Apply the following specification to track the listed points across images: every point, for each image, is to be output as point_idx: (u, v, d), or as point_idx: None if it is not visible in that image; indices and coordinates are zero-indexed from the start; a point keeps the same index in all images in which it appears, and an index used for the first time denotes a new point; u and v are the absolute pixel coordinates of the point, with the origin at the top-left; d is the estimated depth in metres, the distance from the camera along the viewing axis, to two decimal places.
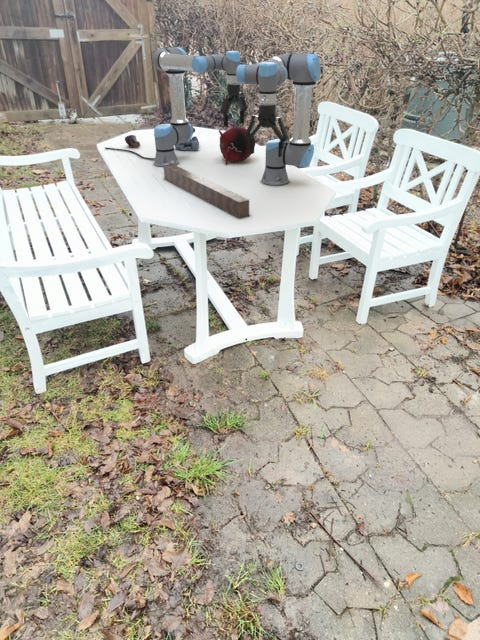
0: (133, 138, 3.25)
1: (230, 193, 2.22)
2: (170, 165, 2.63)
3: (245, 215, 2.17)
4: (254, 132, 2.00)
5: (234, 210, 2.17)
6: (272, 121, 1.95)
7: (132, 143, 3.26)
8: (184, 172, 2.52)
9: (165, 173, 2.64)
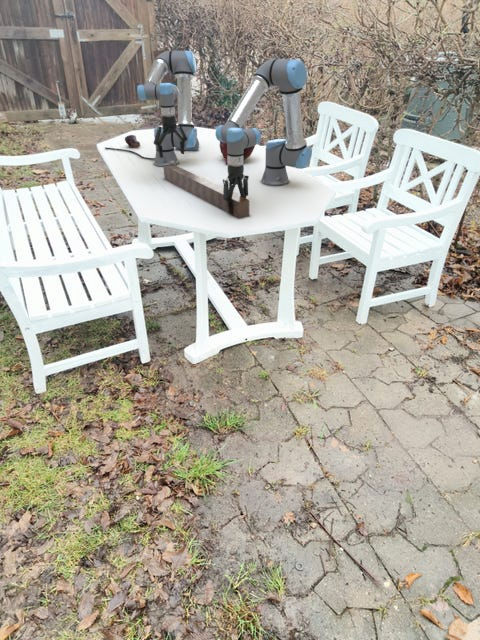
0: (133, 138, 3.25)
1: None
2: (170, 165, 2.63)
3: (245, 215, 2.17)
4: (232, 193, 2.13)
5: (234, 210, 2.17)
6: (242, 177, 2.13)
7: (132, 143, 3.26)
8: (184, 172, 2.52)
9: (165, 173, 2.64)
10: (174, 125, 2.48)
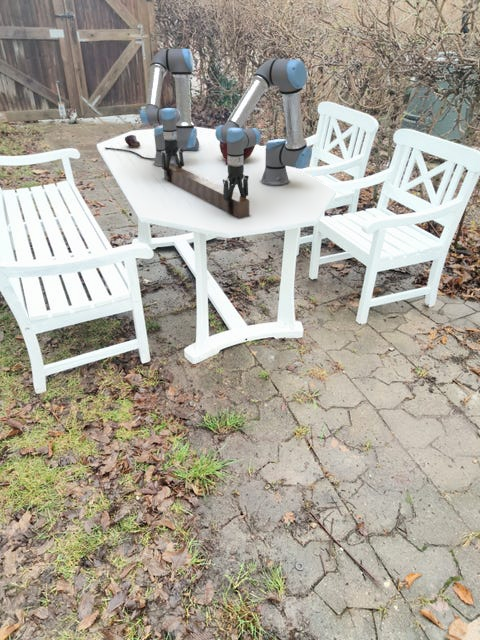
0: (133, 138, 3.25)
1: None
2: (170, 165, 2.63)
3: (245, 215, 2.17)
4: (232, 193, 2.13)
5: (234, 210, 2.17)
6: (242, 177, 2.13)
7: (132, 143, 3.26)
8: (184, 172, 2.52)
9: (165, 173, 2.64)
10: (176, 148, 2.55)
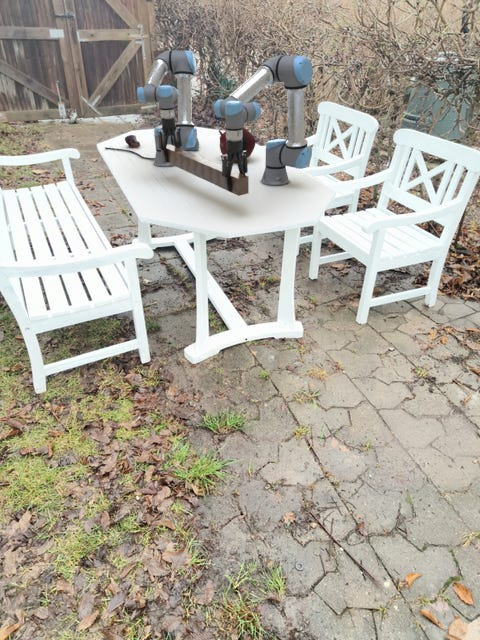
0: (133, 138, 3.25)
1: None
2: (168, 145, 2.56)
3: (244, 192, 2.11)
4: (231, 170, 2.07)
5: (232, 188, 2.11)
6: (241, 153, 2.07)
7: (132, 143, 3.26)
8: (182, 151, 2.46)
9: (162, 154, 2.58)
10: (173, 127, 2.49)
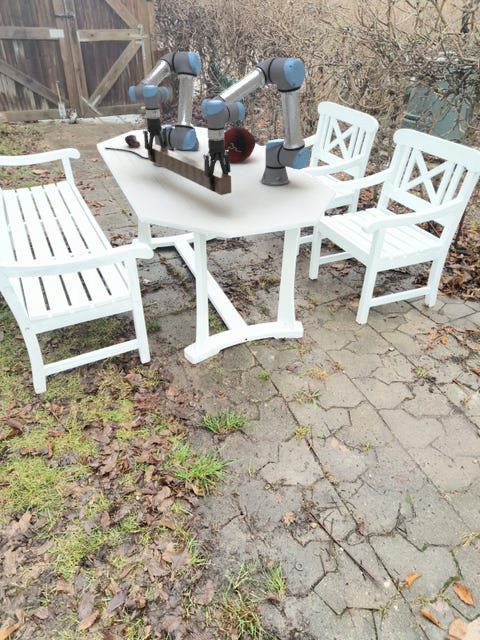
0: (133, 138, 3.25)
1: None
2: (154, 145, 2.57)
3: (227, 192, 2.11)
4: (213, 169, 2.08)
5: (215, 187, 2.11)
6: (223, 153, 2.07)
7: (132, 143, 3.26)
8: (167, 151, 2.46)
9: None
10: (159, 127, 2.49)
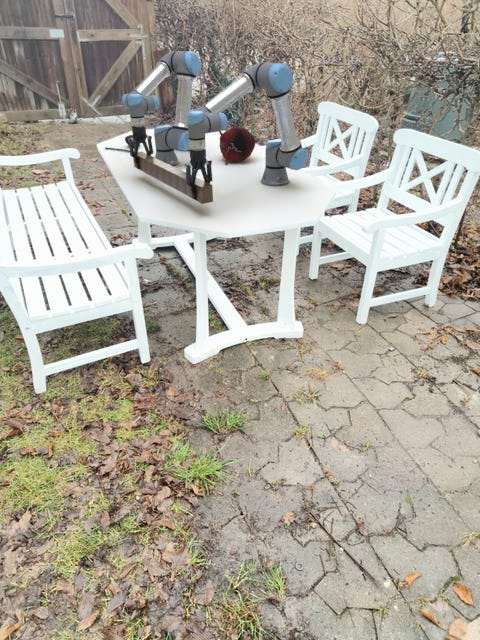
0: None
1: None
2: (140, 153, 2.60)
3: (209, 201, 2.14)
4: (195, 178, 2.10)
5: (197, 196, 2.14)
6: (205, 162, 2.10)
7: None
8: (152, 159, 2.49)
9: (134, 161, 2.61)
10: (144, 135, 2.52)
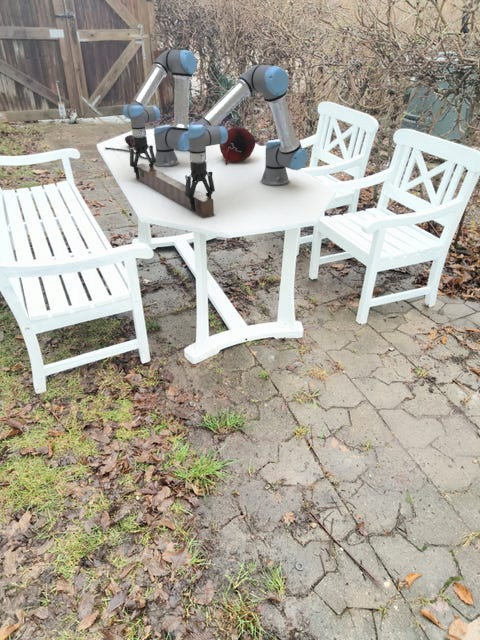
0: None
1: (195, 192, 2.23)
2: (142, 165, 2.64)
3: (210, 214, 2.18)
4: (194, 190, 2.13)
5: (198, 210, 2.18)
6: (205, 174, 2.13)
7: (132, 143, 3.26)
8: (154, 171, 2.53)
9: None
10: (145, 145, 2.55)
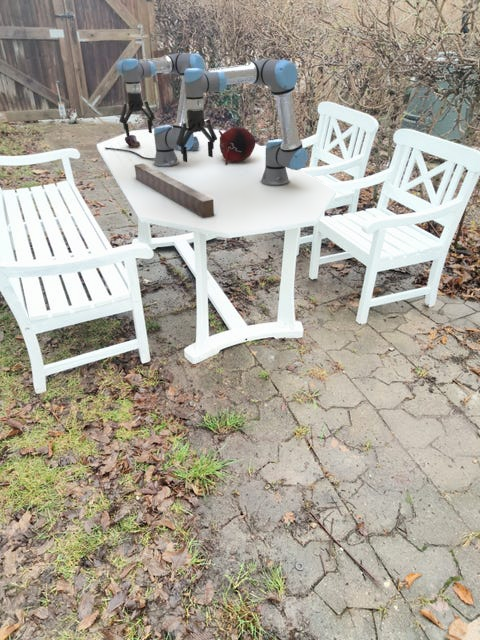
0: (133, 138, 3.25)
1: (195, 192, 2.23)
2: (142, 165, 2.64)
3: (210, 214, 2.18)
4: (187, 139, 1.99)
5: (198, 210, 2.18)
6: (203, 124, 2.00)
7: (132, 143, 3.26)
8: (154, 171, 2.53)
9: (136, 173, 2.65)
10: (140, 103, 2.42)
